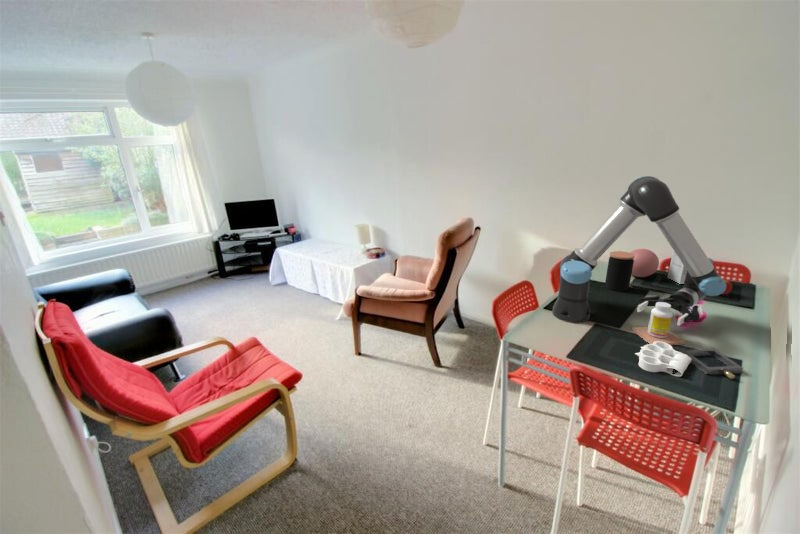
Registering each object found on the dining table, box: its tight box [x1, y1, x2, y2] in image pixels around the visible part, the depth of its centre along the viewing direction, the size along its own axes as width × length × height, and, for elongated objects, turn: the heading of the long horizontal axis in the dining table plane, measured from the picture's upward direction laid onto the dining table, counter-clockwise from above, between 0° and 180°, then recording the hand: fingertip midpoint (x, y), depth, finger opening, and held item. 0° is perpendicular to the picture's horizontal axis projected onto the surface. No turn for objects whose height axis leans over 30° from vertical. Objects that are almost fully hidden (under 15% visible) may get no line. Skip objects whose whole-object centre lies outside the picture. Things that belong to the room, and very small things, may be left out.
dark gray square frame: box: [680, 348, 744, 380], centre depth 122 cm, size 11×14×2 cm
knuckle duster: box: [634, 341, 691, 377], centre depth 126 cm, size 3×18×15 cm
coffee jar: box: [604, 250, 635, 292], centre depth 181 cm, size 11×11×18 cm
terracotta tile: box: [631, 326, 685, 346], centre depth 140 cm, size 12×12×1 cm
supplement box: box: [667, 249, 687, 285], centre depth 185 cm, size 10×9×17 cm
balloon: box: [629, 248, 660, 278], centre depth 196 cm, size 15×20×15 cm
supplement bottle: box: [647, 302, 673, 338], centre depth 138 cm, size 7×7×13 cm
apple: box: [722, 278, 733, 295], centre depth 170 cm, size 8×8×8 cm
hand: (657, 315), depth 135 cm, fingers open, 13 cm apart
